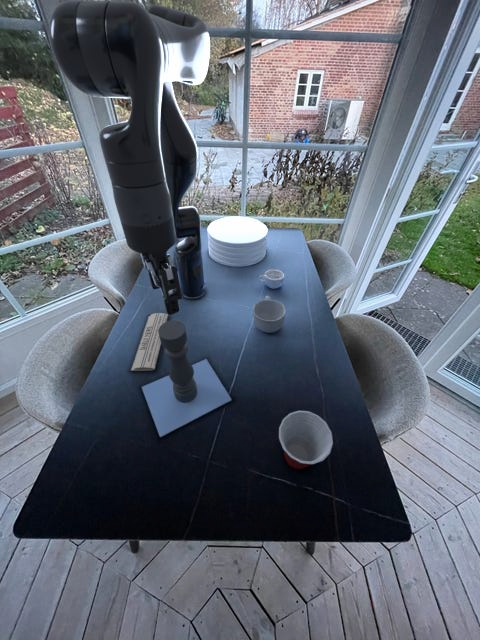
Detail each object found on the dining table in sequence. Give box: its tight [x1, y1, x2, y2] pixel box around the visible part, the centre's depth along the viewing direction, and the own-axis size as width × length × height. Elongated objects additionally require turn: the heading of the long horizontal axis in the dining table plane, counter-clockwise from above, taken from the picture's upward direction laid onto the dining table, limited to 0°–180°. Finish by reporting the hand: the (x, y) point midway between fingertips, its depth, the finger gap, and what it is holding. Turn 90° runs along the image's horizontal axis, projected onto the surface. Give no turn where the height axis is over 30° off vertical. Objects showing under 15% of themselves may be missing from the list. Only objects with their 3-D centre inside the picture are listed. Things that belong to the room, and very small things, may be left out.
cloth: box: [141, 358, 233, 438], centre depth 73 cm, size 16×20×1 cm
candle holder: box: [158, 319, 197, 403], centre depth 64 cm, size 6×6×25 cm
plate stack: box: [206, 216, 269, 268], centre depth 126 cm, size 28×28×12 cm
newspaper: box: [130, 312, 169, 372], centre depth 86 cm, size 24×7×2 cm, turn 1°
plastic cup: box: [278, 410, 334, 470], centre depth 58 cm, size 11×11×12 cm
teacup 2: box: [252, 295, 287, 334], centre depth 91 cm, size 14×11×8 cm
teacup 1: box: [258, 269, 285, 290], centre depth 109 cm, size 10×8×5 cm
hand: (165, 299), depth 50 cm, fingers open, 8 cm apart
